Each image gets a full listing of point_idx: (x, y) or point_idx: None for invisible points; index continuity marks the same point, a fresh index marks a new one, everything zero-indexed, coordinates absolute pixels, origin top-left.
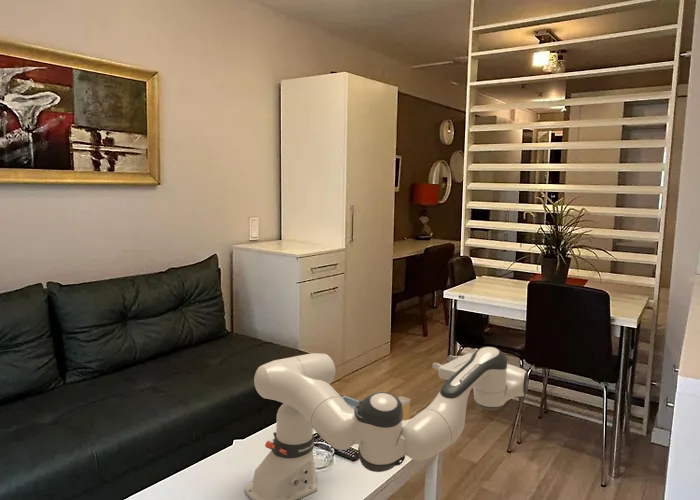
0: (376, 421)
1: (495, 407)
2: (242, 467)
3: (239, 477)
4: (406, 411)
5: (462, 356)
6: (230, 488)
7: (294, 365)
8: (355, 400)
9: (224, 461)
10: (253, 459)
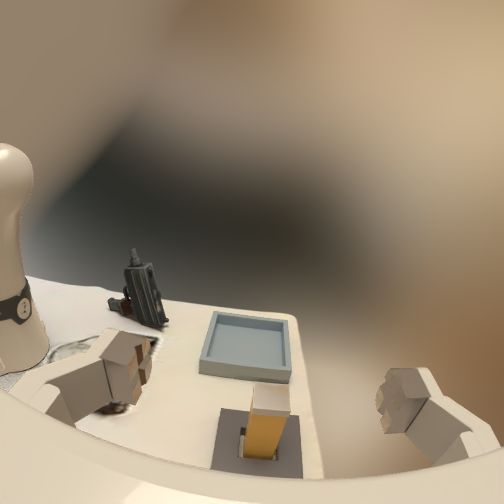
0: None
1: None
2: (41, 303)
3: None
4: (265, 428)
5: (487, 474)
6: None
7: None
8: (285, 336)
9: (51, 289)
10: (59, 305)
